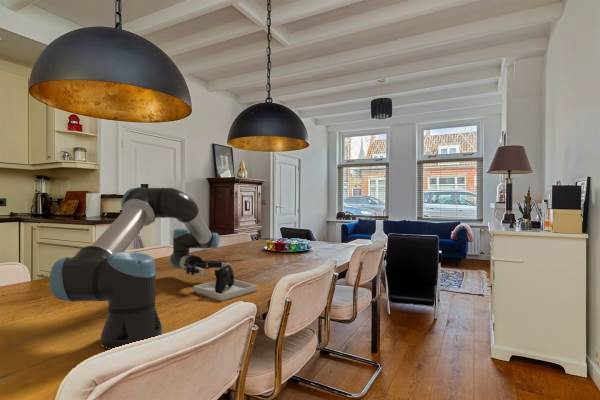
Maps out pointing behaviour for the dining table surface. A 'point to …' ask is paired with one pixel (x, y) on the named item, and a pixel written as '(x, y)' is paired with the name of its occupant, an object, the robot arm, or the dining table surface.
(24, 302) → the dining table surface
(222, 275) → the gaming controller
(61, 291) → the robot arm
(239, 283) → the tray
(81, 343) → the dining table surface
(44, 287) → the dining table surface
